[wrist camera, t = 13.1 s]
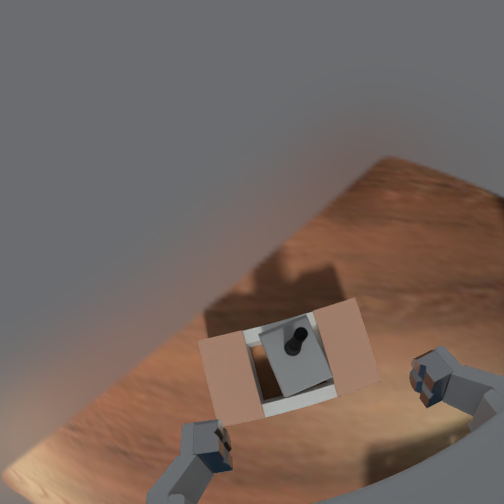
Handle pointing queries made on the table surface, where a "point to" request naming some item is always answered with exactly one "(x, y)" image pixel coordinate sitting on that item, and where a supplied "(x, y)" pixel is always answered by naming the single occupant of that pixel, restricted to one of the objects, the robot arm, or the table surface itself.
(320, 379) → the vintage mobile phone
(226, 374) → the tan rectangular frame
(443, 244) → the table surface
